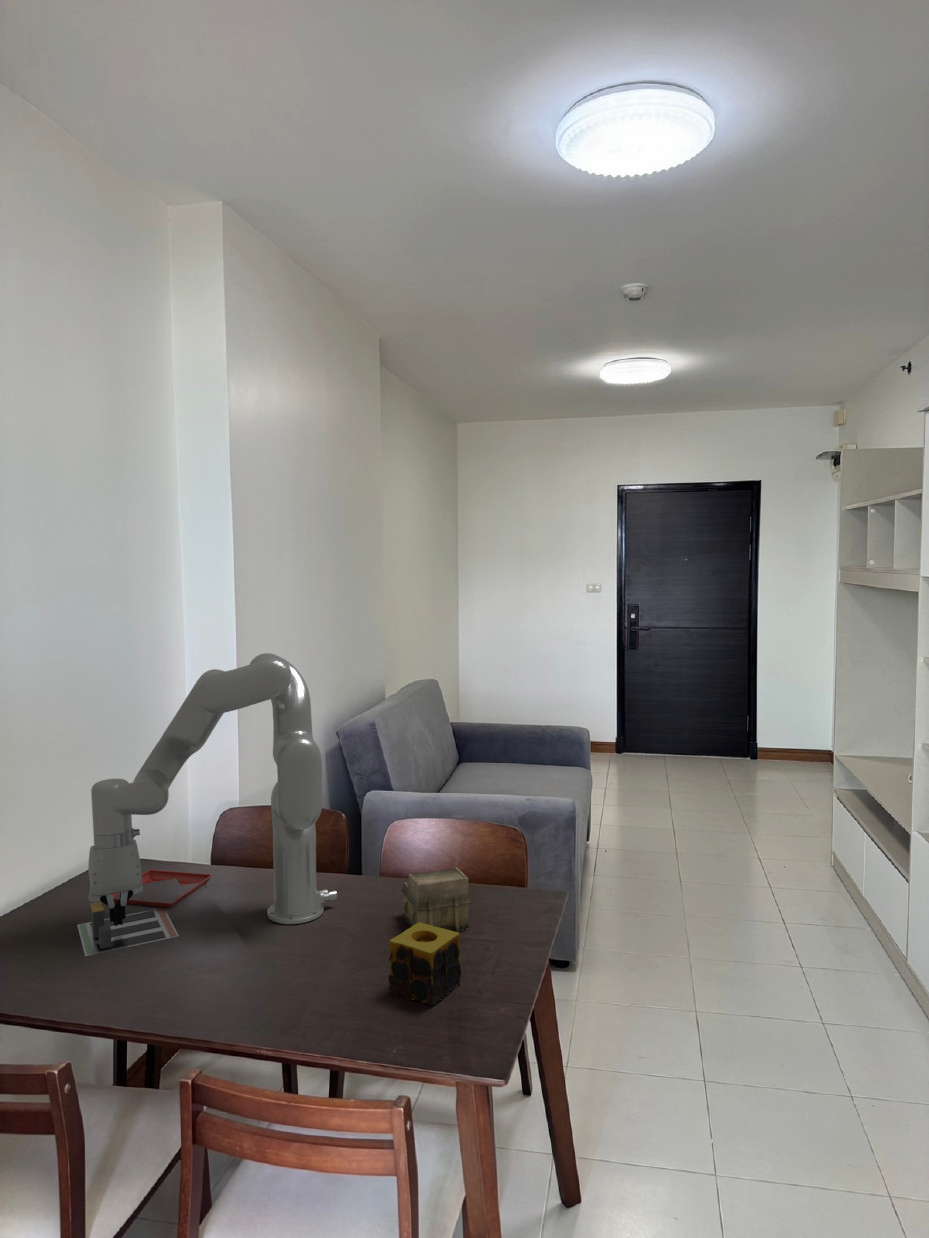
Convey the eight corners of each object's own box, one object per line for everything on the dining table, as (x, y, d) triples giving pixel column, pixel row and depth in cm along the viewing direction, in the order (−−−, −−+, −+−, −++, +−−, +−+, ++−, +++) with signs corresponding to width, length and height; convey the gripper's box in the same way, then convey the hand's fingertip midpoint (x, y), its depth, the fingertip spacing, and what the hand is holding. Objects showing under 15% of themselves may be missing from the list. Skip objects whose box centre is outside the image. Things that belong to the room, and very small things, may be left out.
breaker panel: (164, 913, 188) (163, 906, 188) (179, 942, 173) (178, 935, 173) (77, 931, 179) (77, 924, 179) (85, 963, 164) (85, 955, 164)
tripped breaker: (102, 930, 175) (101, 901, 175) (104, 935, 172) (103, 906, 172) (91, 932, 174) (90, 903, 174) (93, 938, 171) (92, 908, 171)
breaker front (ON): (109, 940, 170) (109, 924, 170) (111, 946, 168) (111, 929, 167) (99, 942, 169) (98, 926, 169) (100, 948, 167) (100, 931, 166)
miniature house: (481, 931, 179) (481, 879, 178) (419, 941, 174) (418, 888, 173) (457, 905, 193) (457, 857, 192) (399, 914, 188) (399, 864, 187)
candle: (432, 1008, 147) (432, 954, 147) (387, 993, 152) (386, 940, 152) (462, 984, 156) (462, 932, 155) (418, 970, 161) (418, 920, 160)
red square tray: (102, 909, 191) (102, 895, 191) (149, 881, 209) (149, 868, 209) (171, 917, 187) (171, 902, 187) (213, 887, 205) (213, 874, 204)
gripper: (147, 827, 181) (151, 908, 182) (72, 840, 173) (77, 925, 175) (153, 836, 174) (157, 921, 175) (76, 850, 167) (81, 938, 168)
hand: (117, 922), depth 175 cm, fingers closed
